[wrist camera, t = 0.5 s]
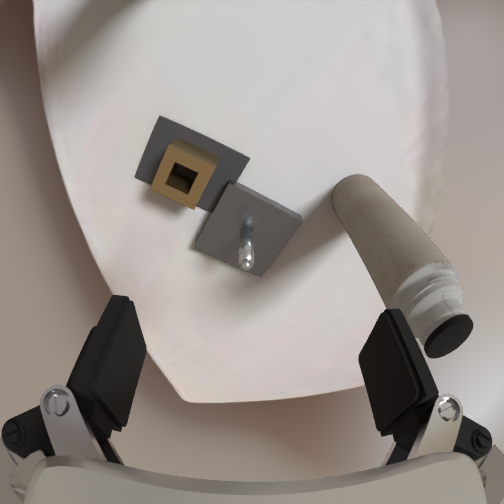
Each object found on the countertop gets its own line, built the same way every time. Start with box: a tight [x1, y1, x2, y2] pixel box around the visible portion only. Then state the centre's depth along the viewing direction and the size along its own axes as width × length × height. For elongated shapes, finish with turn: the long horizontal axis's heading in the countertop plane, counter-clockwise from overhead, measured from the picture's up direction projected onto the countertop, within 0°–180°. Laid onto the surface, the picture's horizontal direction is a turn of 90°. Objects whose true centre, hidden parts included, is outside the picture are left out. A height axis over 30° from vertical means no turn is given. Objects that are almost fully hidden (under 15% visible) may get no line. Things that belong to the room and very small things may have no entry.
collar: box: [150, 138, 220, 210], centre depth 35 cm, size 6×6×5 cm
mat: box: [135, 116, 250, 212], centre depth 38 cm, size 14×10×1 cm
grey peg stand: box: [194, 179, 302, 277], centre depth 39 cm, size 12×12×10 cm
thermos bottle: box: [332, 174, 473, 358], centre depth 29 cm, size 8×8×28 cm
